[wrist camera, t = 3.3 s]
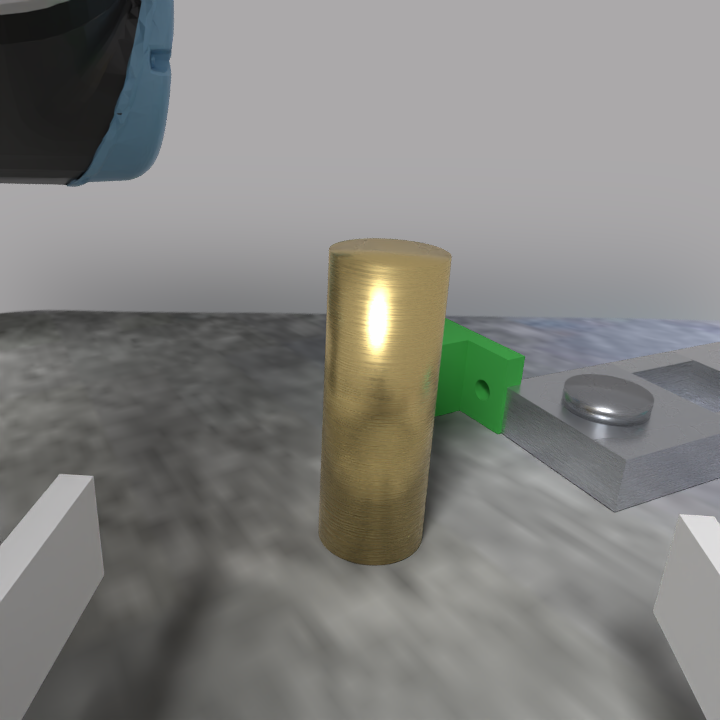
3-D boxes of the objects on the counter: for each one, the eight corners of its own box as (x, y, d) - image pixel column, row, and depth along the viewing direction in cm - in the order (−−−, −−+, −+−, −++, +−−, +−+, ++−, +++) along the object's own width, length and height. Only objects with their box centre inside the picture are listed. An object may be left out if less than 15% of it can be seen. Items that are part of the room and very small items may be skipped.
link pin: (301, 515, 27) (309, 242, 23) (389, 493, 29) (410, 236, 25) (347, 577, 24) (365, 271, 20) (441, 547, 26) (476, 262, 22)
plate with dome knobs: (494, 428, 35) (503, 368, 34) (742, 371, 44) (756, 323, 43) (614, 512, 29) (630, 442, 28) (875, 426, 38) (896, 371, 37)
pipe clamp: (340, 372, 42) (343, 300, 41) (391, 362, 44) (395, 293, 42) (457, 453, 34) (466, 366, 32) (513, 437, 35) (525, 353, 34)
